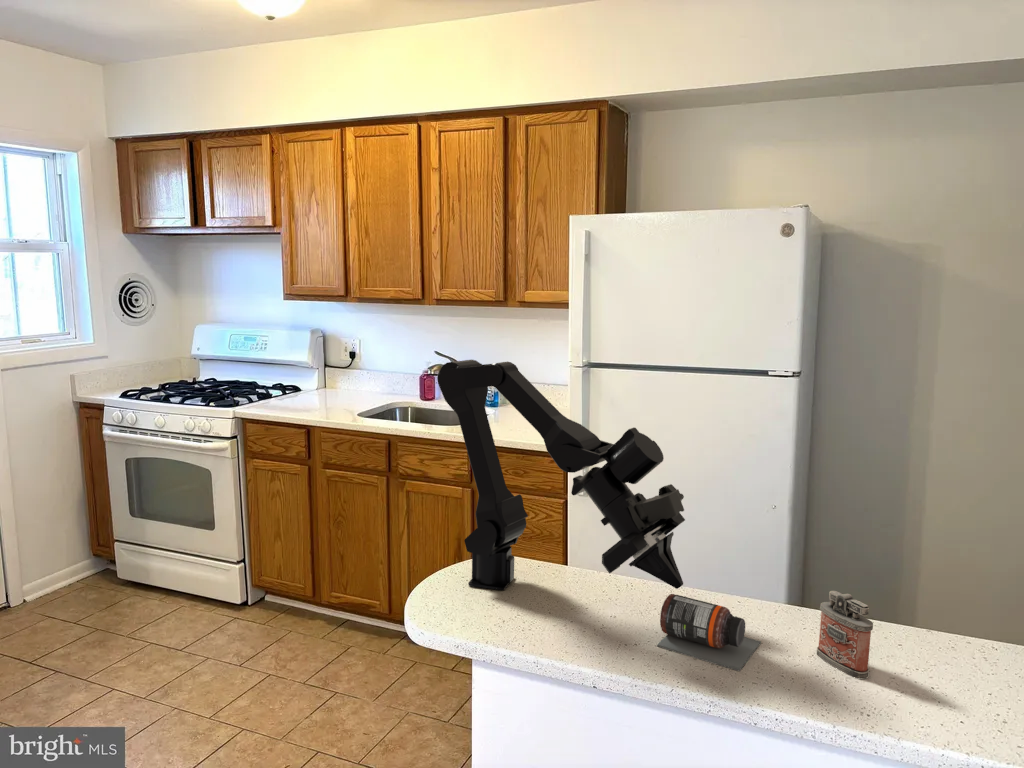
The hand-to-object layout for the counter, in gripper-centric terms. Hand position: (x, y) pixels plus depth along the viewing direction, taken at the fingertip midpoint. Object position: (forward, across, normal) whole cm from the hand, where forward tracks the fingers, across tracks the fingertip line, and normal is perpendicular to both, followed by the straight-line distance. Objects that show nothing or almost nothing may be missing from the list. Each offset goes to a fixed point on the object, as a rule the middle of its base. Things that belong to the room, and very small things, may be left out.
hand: (680, 586), depth 112 cm
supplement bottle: (+2, 0, +5) cm, 5 cm away
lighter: (+21, +6, -10) cm, 24 cm away
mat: (+9, 0, +2) cm, 9 cm away
